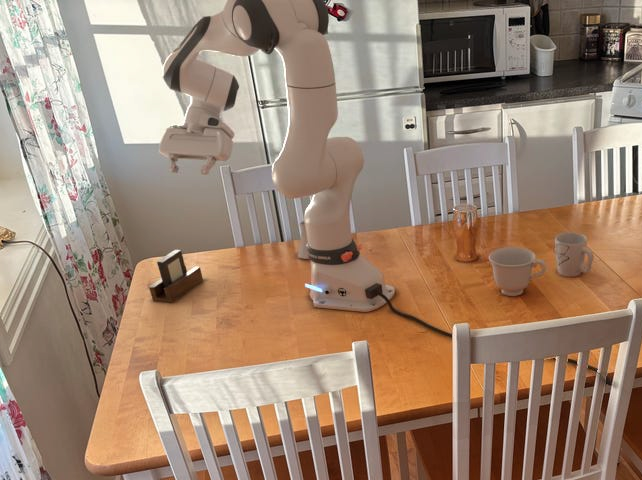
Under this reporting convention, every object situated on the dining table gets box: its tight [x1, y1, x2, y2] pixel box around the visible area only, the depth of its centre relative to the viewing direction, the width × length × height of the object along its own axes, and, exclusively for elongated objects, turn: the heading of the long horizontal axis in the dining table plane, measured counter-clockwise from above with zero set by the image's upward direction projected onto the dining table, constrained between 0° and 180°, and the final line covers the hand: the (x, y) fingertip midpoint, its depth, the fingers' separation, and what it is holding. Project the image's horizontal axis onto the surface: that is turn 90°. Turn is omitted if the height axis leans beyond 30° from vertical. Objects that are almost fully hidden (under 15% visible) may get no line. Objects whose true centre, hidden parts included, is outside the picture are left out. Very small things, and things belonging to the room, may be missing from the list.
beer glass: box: [452, 203, 479, 263], centre depth 205 cm, size 7×7×15 cm
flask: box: [297, 220, 310, 260], centre depth 211 cm, size 7×7×10 cm
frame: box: [156, 249, 188, 288], centre depth 193 cm, size 8×2×9 cm, turn 165°
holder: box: [149, 265, 204, 304], centre depth 195 cm, size 14×6×4 cm, turn 165°
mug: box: [554, 231, 594, 278], centre depth 195 cm, size 11×8×10 cm
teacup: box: [488, 246, 547, 297], centre depth 187 cm, size 12×15×10 cm
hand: (188, 172), depth 194 cm, fingers open, 8 cm apart
